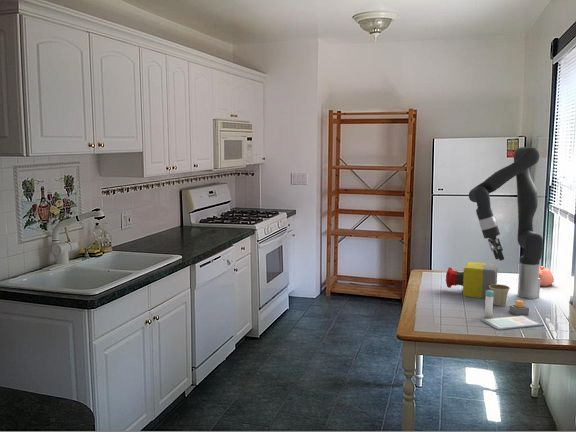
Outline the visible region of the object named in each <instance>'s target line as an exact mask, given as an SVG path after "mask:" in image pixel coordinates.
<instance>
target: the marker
mask: <svg viewBox="0 0 576 432" xmlns="http://www.w3.org/2000/svg"><path fill="white" fill-rule="evenodd" d="M485 295H486V299H484V300H485V301H484V302H485V303H484V306H485V307H484V319H489V318H493V312H494V311H493V308H494V307H493V306H494V305H493V296H494V291H491V290H486V294H485Z"/></svg>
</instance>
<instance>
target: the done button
mask: <svg viewBox="0 0 576 432" xmlns="http://www.w3.org/2000/svg"><path fill="white" fill-rule="evenodd" d="M514 305H515V307H517V308H523V306H525V305H524V300H521V299H515V300H514Z"/></svg>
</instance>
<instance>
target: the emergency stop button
mask: <svg viewBox="0 0 576 432" xmlns="http://www.w3.org/2000/svg"><path fill="white" fill-rule="evenodd" d="M498 270H499V269H498V264H494V263H484V262H471V261H468V262H467V263H466V265H465V267H464V268H463V271H462V272H461V271H458V270H453V268H452V267H448V268H447V271H446V275H445V284H446V288H447V289H449V288H451V287H452V286H462V296H463V297H464V298H465V297H466V298H467V297H468V298H476V299H484V300H485V299H486V295H485V294H486V290H490V288H489V286H490V285H494V284H498Z"/></svg>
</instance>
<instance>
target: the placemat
mask: <svg viewBox="0 0 576 432" xmlns="http://www.w3.org/2000/svg"><path fill="white" fill-rule="evenodd" d="M480 321H481V322H482V323H484V324H486V325H487V326H490V327H492V328H493V329H495V330H496V331H505V330H512V329H513V330H515V329H524V328H526V329H527V328H534V327H544V324H543V323H541V322H539V321H537V320H534V319H533V318H530V317H528V316H527V315H513V316H503V317H492V318H481V319H480Z"/></svg>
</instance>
